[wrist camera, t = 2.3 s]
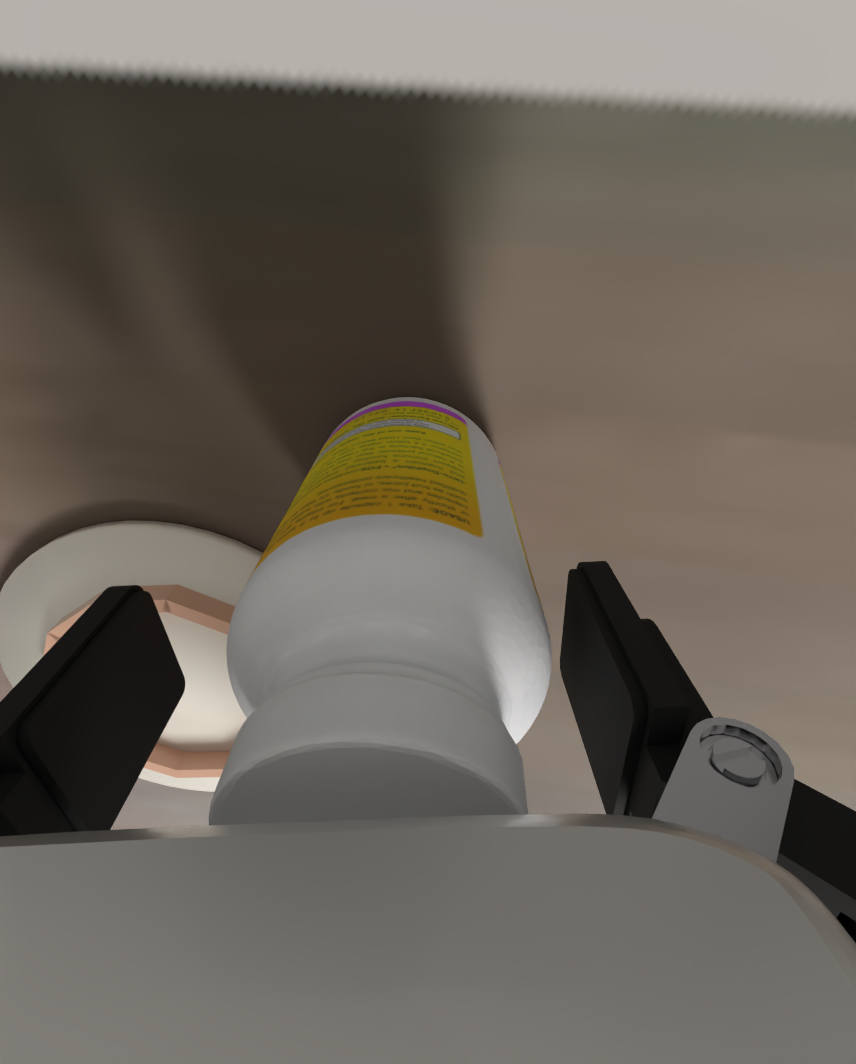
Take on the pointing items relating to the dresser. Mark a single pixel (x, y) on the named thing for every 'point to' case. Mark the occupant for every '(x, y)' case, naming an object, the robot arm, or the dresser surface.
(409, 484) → the supplement bottle
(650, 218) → the dresser surface
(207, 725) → the ring stand
